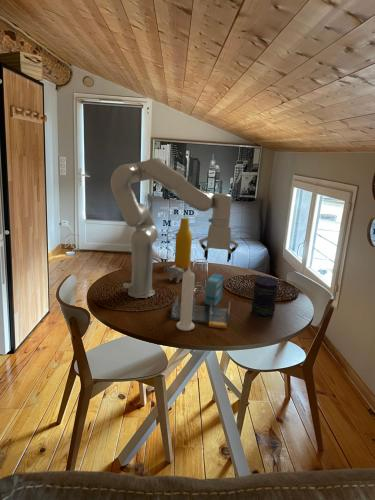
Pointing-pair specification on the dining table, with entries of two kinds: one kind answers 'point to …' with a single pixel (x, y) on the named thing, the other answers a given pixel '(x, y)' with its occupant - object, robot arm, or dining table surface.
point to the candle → (187, 301)
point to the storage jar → (264, 297)
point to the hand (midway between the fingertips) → (217, 260)
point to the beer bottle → (183, 245)
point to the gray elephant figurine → (175, 272)
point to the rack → (204, 314)
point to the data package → (214, 289)
